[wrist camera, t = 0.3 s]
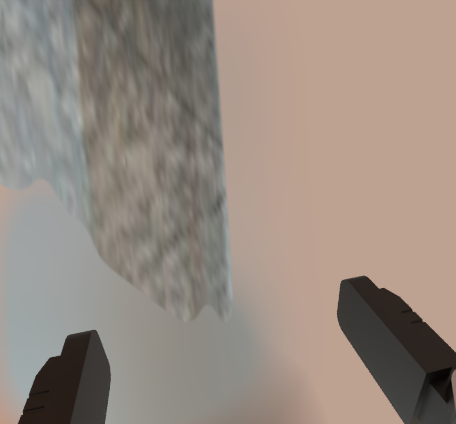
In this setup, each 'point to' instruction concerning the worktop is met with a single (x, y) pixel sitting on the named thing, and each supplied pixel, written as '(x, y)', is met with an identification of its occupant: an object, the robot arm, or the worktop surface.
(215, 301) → the worktop surface
